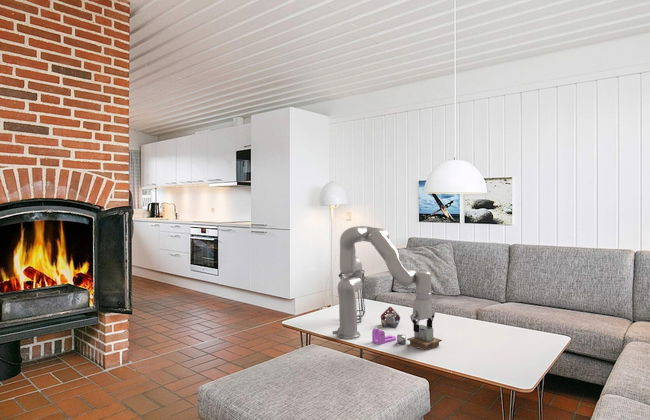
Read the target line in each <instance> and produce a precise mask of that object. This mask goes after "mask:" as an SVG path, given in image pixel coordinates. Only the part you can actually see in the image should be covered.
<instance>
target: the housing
mask: <svg viewBox="0 0 650 420" xmlns="http://www.w3.org/2000/svg"><path fill="white" fill-rule="evenodd" d="M413 333H414V334H413V335H414V336H413V337H414V338H415V339H418V340H421V341H424V342H430V341H434V339H433V337H434V327H432V328H431V327H427V325H423V324H419V332H415V331H413Z"/></svg>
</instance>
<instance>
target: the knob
mask: <svg viewBox="0 0 650 420" xmlns="http://www.w3.org/2000/svg"><path fill="white" fill-rule="evenodd" d="M396 344H397V345H398V344H399V345H400V346H405V345H406V344H407V337H406V335H405V334H397V335H396ZM399 345H398V346H399Z"/></svg>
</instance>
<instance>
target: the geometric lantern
mask: <svg viewBox="0 0 650 420" xmlns="http://www.w3.org/2000/svg"><path fill="white" fill-rule="evenodd" d="M338 277H339V279H340V281H341V280H342V279H343V278H345V277H346V275H344V274H342V273H341V272H340V273H339V274H338ZM364 278H365V270H364V269H362V284H363V283H364ZM364 297H365V296H364V290H363V285H362V286H361V288H360V290H359V291H357V300H358V309H359V310H358V309H357V312H359V313H358V314H357V324H358V323H359V324H360V323H362V318H363V317H365V313H366V308H365V307H366V305H365V299H364ZM358 320H359V321H358Z"/></svg>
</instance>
